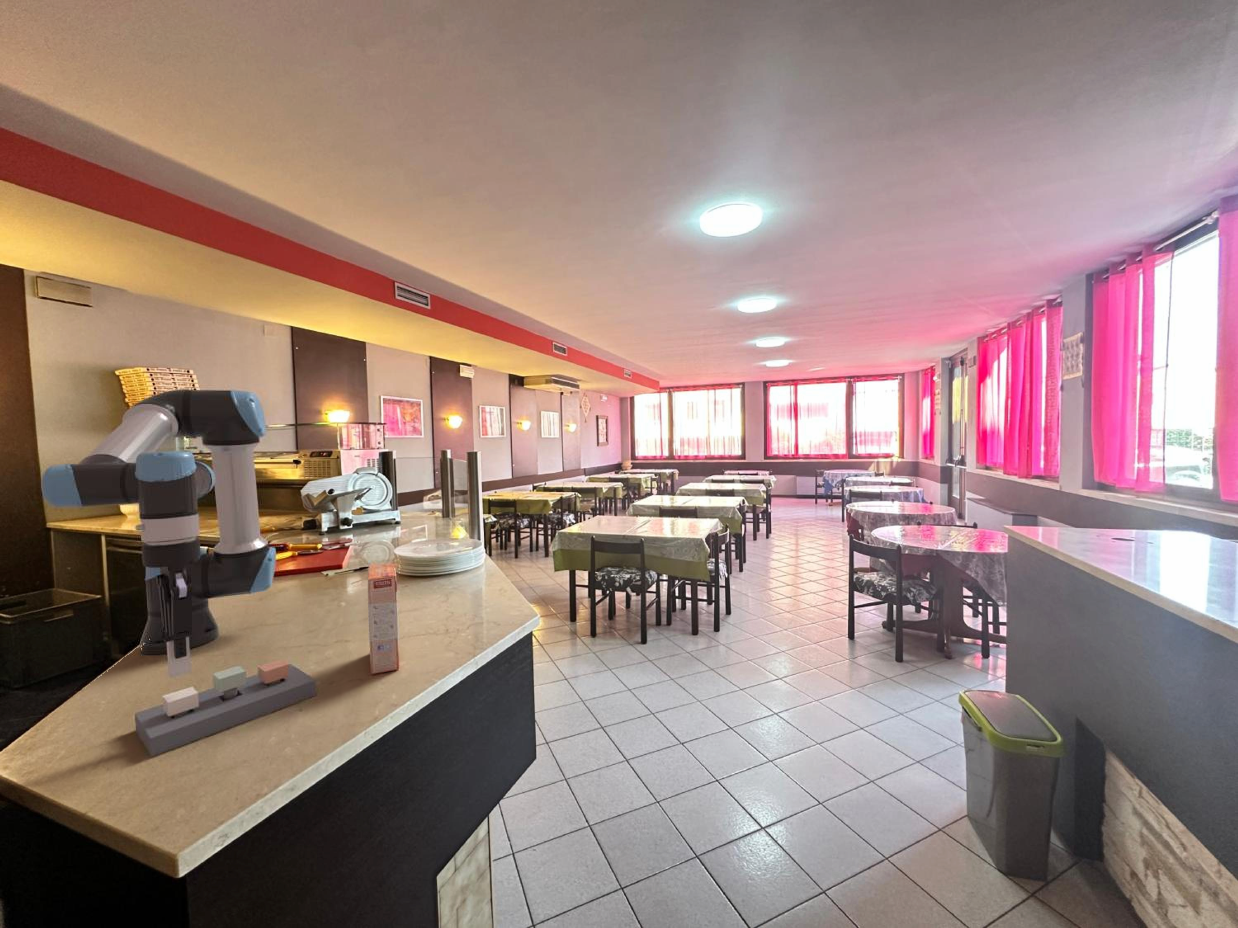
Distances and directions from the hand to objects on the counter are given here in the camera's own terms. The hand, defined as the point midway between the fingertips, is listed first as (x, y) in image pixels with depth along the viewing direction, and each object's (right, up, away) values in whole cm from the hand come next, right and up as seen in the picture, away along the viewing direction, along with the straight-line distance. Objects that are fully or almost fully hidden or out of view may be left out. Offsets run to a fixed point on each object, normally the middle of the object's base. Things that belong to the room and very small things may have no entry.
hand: (180, 673), depth 87 cm
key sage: (+5, -7, +5) cm, 10 cm away
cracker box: (+24, -8, +26) cm, 36 cm away
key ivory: (0, -9, 0) cm, 9 cm away
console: (+5, -9, +5) cm, 12 cm away
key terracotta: (+9, -8, +11) cm, 16 cm away
